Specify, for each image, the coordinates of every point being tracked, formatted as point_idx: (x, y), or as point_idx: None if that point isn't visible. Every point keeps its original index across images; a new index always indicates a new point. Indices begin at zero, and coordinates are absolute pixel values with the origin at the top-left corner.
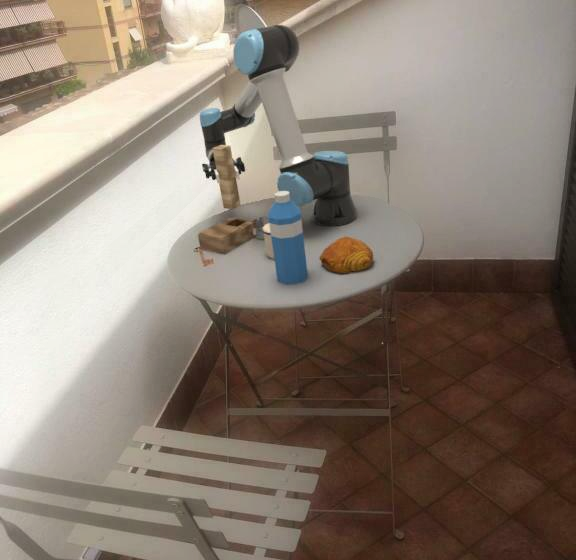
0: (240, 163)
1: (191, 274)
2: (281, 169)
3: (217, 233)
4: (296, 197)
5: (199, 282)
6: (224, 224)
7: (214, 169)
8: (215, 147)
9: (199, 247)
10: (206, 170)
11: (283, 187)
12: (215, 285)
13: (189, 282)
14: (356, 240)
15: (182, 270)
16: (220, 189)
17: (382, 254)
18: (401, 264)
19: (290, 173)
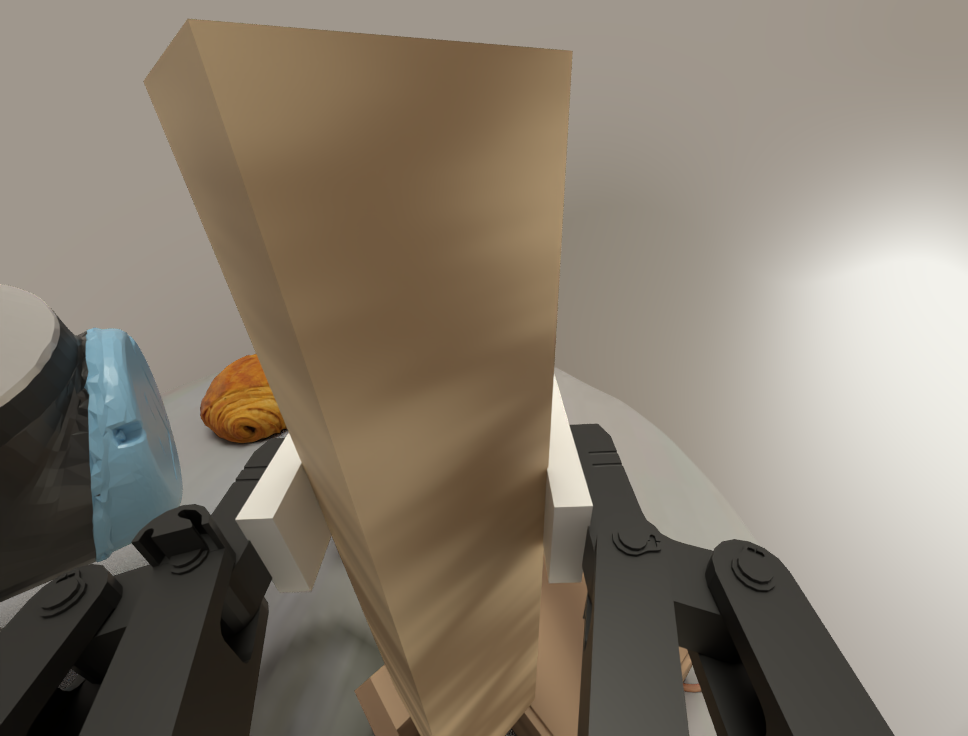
0: (20, 680)
1: (648, 463)
2: (56, 360)
3: (581, 582)
4: (168, 430)
5: (611, 423)
6: (547, 722)
7: (595, 563)
8: (491, 50)
9: (694, 685)
10: (748, 554)
11: (153, 433)
12: (567, 404)
13: (640, 429)
14: (228, 368)
15: (691, 494)
16: (537, 614)
17: (188, 413)
18: (207, 379)
19: (101, 329)
